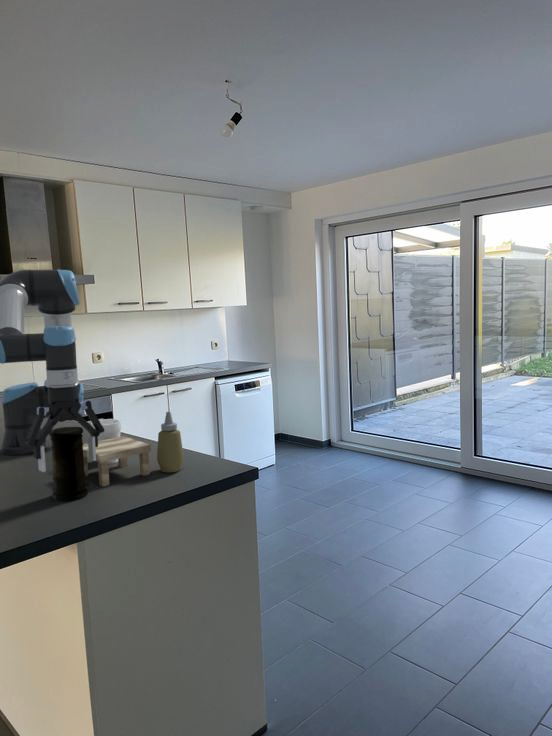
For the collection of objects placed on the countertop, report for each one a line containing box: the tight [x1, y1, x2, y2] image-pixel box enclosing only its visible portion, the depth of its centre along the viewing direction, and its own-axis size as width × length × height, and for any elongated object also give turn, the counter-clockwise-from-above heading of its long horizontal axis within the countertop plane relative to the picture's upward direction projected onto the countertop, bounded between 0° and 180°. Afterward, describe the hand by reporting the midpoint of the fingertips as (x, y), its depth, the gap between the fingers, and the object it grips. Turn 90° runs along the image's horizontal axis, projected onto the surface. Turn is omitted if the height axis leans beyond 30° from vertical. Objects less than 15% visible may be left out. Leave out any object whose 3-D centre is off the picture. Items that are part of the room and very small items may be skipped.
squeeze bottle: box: [156, 411, 185, 473], centre depth 166 cm, size 8×8×18 cm
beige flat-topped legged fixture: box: [83, 435, 152, 487], centre depth 164 cm, size 16×16×9 cm
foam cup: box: [90, 418, 123, 465], centre depth 178 cm, size 10×9×13 cm
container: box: [48, 426, 89, 502], centre depth 146 cm, size 9×9×18 cm
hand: (68, 465), depth 145 cm, fingers open, 13 cm apart
